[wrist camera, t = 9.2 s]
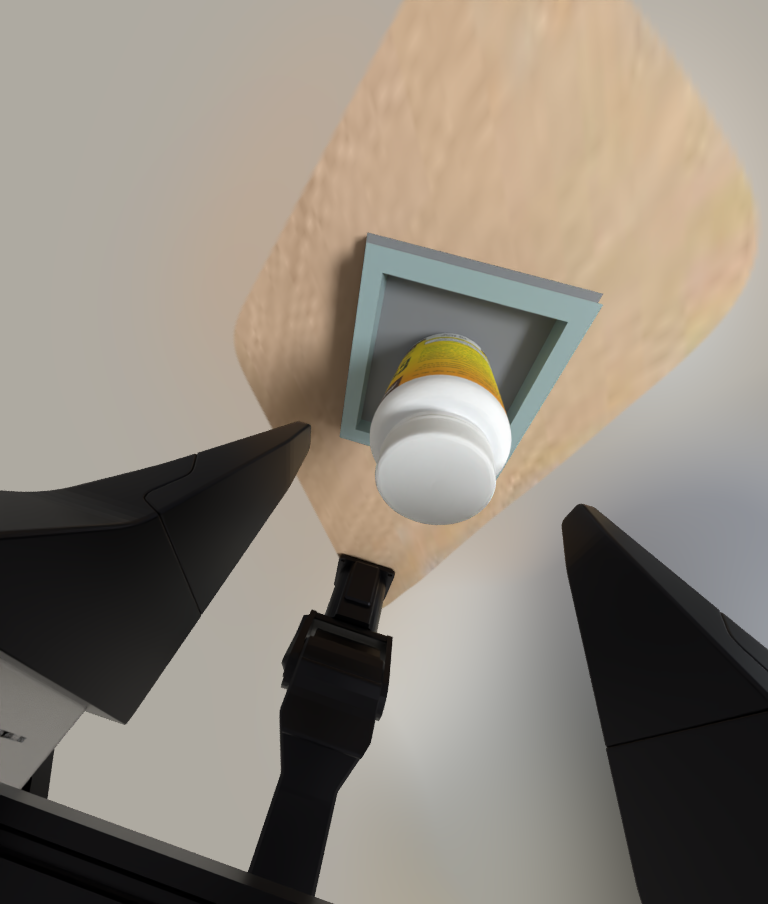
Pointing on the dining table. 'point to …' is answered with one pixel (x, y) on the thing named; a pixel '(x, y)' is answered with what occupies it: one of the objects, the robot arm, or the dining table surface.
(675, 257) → the dining table surface
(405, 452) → the supplement bottle
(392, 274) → the tray
